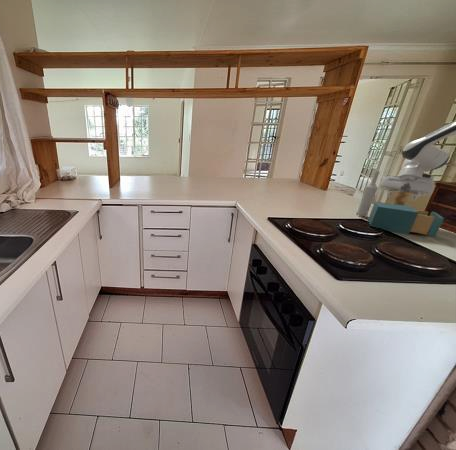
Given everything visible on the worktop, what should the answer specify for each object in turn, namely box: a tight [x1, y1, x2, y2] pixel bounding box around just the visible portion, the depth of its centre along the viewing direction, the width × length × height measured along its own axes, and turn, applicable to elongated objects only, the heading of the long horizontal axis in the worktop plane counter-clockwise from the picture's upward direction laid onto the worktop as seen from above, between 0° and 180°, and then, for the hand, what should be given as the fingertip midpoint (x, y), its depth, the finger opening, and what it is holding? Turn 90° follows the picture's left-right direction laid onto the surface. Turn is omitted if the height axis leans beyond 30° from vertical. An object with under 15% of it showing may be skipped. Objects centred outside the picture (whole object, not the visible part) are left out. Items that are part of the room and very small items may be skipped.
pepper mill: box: [391, 183, 411, 206], centre depth 124 cm, size 5×5×21 cm
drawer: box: [409, 209, 445, 238], centre depth 110 cm, size 14×12×9 cm
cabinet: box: [367, 201, 418, 235], centre depth 115 cm, size 14×14×11 cm
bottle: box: [355, 170, 381, 217], centre depth 130 cm, size 5×5×25 cm
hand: (401, 197), depth 124 cm, fingers open, 8 cm apart
